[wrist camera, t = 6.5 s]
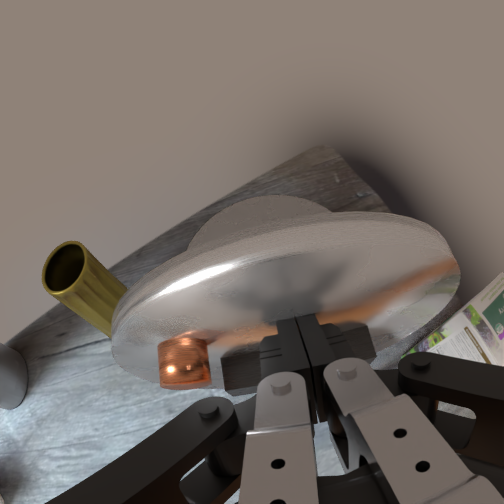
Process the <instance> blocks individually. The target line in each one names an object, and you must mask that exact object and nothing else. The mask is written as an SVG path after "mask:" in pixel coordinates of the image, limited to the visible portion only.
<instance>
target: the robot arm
mask: <svg viewBox="0 0 504 504" xmlns="http://www.w3.org/2000/svg"><path fill="white" fill-rule="evenodd" d="M276 326H277V332H278V334H275V335H270V336H265V337H264V338H263V339H262V341H261V342H260V344H259V349H260V364H261V379H262V381H261V382H260V383H259V385H258V387H257V394H256V395H255V396H253V397H252V398H250V399H248V400H246V401H244V402H241V403H239V404H236V405H233V403H232V402H231V401H230V400H228V399H226V398H223V397H208V398H204V399H201V400H199V401H197V402H195V403H194V404H192V405H191V406H190V407H188V408H187V409H186V410H184V411H183V412H182V413H180V414H179V415H178V416H176V417H175V418H174V419H172V420H171V421H170V422H168V423H167V424H166V425H164V426H163V427H162V428H160V429H159V430H157V431H156V432H155V433H153V434H152V435H150V436H149V437H148V438H146V439H145V440H143V441H142V442H141V443H139V444H138V445H136V446H135V447H133V448H132V449H130V450H129V451H128V452H126V453H125V454H123V455H122V456H120V457H119V458H117V459H116V460H114V461H113V462H111V463H110V464H108V465H107V466H105V467H104V468H102V469H101V470H99V471H97V472H96V473H94V474H93V475H91V476H90V477H88V478H86V479H85V480H83V481H82V482H80V483H78V484H77V485H75V486H74V487H72V488H70V489H69V490H67V491H65V492H64V493H62V494H60V495H59V496H57V497H55V498H53V499H52V500H50V501H48V502H46V503H45V504H224V503H225V502H226V501H227V500H228V499H229V498H230V497H231V496H232V495H233V494H234V493H235V492H236V491H237V490H238V489H239V488H240V494H239V501H238V502H237V503H235V504H504V366H498V365H493V364H487V363H482V362H476V361H471V360H466V359H461V358H456V357H451V356H446V355H441V354H436V353H432V352H424V351H422V352H414V353H411V354H408V355H406V356H405V357H403V358H402V359H401V360H400V362H399V364H398V369H392V370H373V369H372V368H371V366H370V365H369V364H368V363H367V362H366V361H364V360H362V359H359V358H357V357H356V355H355V354H354V352H353V350H352V348H351V347H350V345H349V343H348V342H347V341H346V338H345V336H343V333H342V331H341V330H340V328H339V327H337V326H336V325H334V324H332V323H327V324H323V325H320V324H319V322H318V320H317V318H316V316H315V314H310V315H306V316H301V317H296V322H295V319H294V318H292V319H287V320H282V321H277V322H276ZM27 381H28V376H27V368H26V364H25V361H24V359H23V357H22V356H21V355H20V353H19V352H17V351H16V350H14V349H12V348H10V347H8V346H5V345H3V344H2V343H0V408H3V409H7V410H10V409H14V408H16V407H17V406H18V405H19V404H20V403H21V401H22V400H23V398H24V395H25V393H26V388H27ZM439 401H442V402H446V403H449V404H453V405H457V406H461V407H465V408H469V409H471V410H472V411H473V412H474V413H475V415H476V419H470V418H466V417H462V416H458V415H454V414H451V413H447V412H443V411H440V410H437V409H438V403H439ZM316 411H317V414H318V418H319V422H320V423H321V422H325V421H327V422H328V425H329V432H330V439H331V442H332V444H333V446H334V449H335V451H336V454H337V456H338V458H339V461H340V463H341V465H342V468H343V470H344V473H345V474H344V475H340V476H318V473H317V464H316V455H315V447H314V439H313V438H314V435H315V431H314V424H317V423H318V421H317V414H316ZM203 458H205V461H204V462H203V463H202V464H200V465H199V466H198V467H197V468H196V469H195V470H193V471H192V472H191V473H190V474H189V475H187V476H186V477H185V478H184V479H183V480H181V478H182V477H183V476H184V475H185V474H186V473H187V472H188V471H189V470H190V469H192V468H193V467H194V466H195V465H196V464H198V463H199V462H200V461H201V460H202V459H203ZM180 480H181V481H180Z"/></svg>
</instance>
